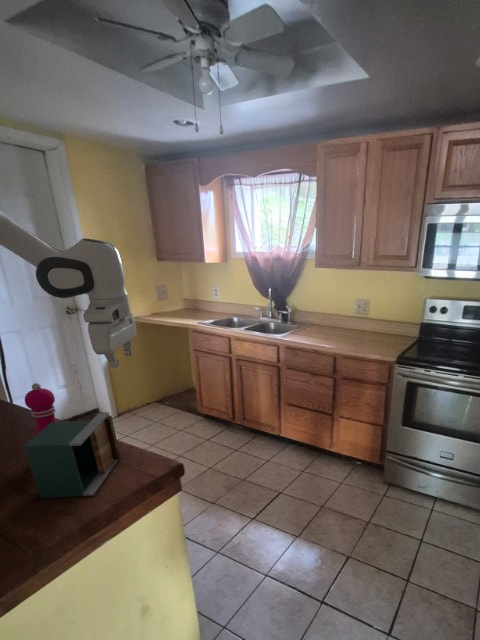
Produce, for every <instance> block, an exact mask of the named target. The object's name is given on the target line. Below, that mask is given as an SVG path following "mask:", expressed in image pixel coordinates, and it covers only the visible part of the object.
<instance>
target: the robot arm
mask: <svg viewBox="0 0 480 640" xmlns="http://www.w3.org/2000/svg"><path fill="white" fill-rule="evenodd" d="M0 246H2V247H3V248H5V249H7V250H8V251H10V252H11V253H13V254H15V255H17V256H18V257H20V258H21V259H22V260H24V261H26V262H27V263H28V264H31V265H32V266H34V267H35V268H36V269H35V278H36V281H37V283H38V285H39V286H40V288H41V289H42V290H43V291H44V292H45V293H47V294H48V295H50V296H52V297H54V298H58V299H72V298H75V297H78V296H83V295H87V297H88V300H89V304H88V306H87V308H86V310H85V311H83V314H82V316H83V321H84V323H87V332H88V337H89V340H90V344H91V347H92V350H93V352H94V353H95V354H96V355H97V356H98V355H104V357H105V359H106V360H107V362H108V365H109V368H111V369H116V368H118V367H119V366H120V363H119V359H117V356H116V351H117V350H118V349H119V348H121V347H122V349H123V350H122V356H123V357H124V358H129V357H131V356H132V355H133V354H132V344H133V343H132V339H134V338H135V337H137V335H138V334H137V332H138V331H137V325H136V321H135V318H134V314H133V312H132V310H131V305H130V300H129V299H130V298H129V294H128V292H127V290H126V286H125V280H126V278H125V272H124V267H123V263H122V259H121V256H120V253H119V250H118V249H117V248H116V246H115V245H114V244H113V243H111V242H108V241H105V240H101V239H100V240H99V239H95V238H94V239H92V238H81V239H79V240H78V242H76V243H75V244H73V245H72V246H70V247H69V248H67V249H64V250H61V249H57V248H55V247H53V246H51V245H49V244H48V243H47V242H45V241H44V240H42V239H41V238H39V237H38V236H37V235H35V234H34V233H32V232H31V231H29V230H28V229H27V228H25V227H23V226H22V225H20V224H19V223H18V222H16V221H14V220H13V219H12V218H10V217H9V216H8V215H7V214H6V213H5V212H4V211H2V210H1V209H0Z"/></svg>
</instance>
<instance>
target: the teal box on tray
mask: <svg viewBox="0 0 480 640" xmlns="http://www.w3.org/2000/svg"><path fill="white" fill-rule="evenodd" d="M109 416H110V412H108V411H106V412H98V414H96V416H94V417H93V418H92V420H65V421H63V420H62V421H57V422H51V423H50V424H49V425H48V426H47V427H45V428H44V429H43V430H42V431H41V432H39V433H38V434H37V435H36V434H35V435H36V436H35V435H34V436H33V437H32V438H31V439H29V440H28V441H27V442H26V443H25V444H24V445H23V446H22V447H23V449H24V452H25V454H26V455H25V457H26V459H27V461H28V465H29V468H30V470H31V474H32V478H33V479H34V482H35V485H36V489H37V491H38V494H39V498H40V499H44V498H45V499H46V498H47V499H48V498H70V497H72V498H73V497H74V498H75V497H94V495H95V494H96V493H97V491H98V490H99V488H100V487H101V486H102V483H104V481H105V480H106V478H107V477H108V475H110V472H111V471H112V470H113V468H114V467H115V465H116V464H117V463H118V462H119V459H118V460H113V462H112V463H111V464H110V466H109V467H108V469H107V470H106V471H105V473H99V472H98V468H97V464H96V460H95V456H94V452H93V448H92V444H91V440H90V435H91V434H92V433H93V431H94V430H95V429H96V428H97V427H98V426H99V425H100V424H101V423H102V422H103V421H104V420H105V418H106V417H109Z"/></svg>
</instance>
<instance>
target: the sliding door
mask: <svg viewBox="0 0 480 640" xmlns="http://www.w3.org/2000/svg"><path fill="white" fill-rule="evenodd" d="M117 439H118V438H117V435H116V429H115V426H114V421H113V416H107V417H106V418H105V420H104V421H103V422H102V423H101V424H100V425H99V426H98V427H97V428H96V429H95V430H94V431H93V433H92V434H91V435H90V440H91V444H92V448H93V452H94V456H95V460H96V464H97V468H98V472H99V473H105V471H106V470H107V469H108V467H109V466H110V464H111V463H112V462H113V460H118V461H119V460H120V458H121V453H120V449H119V445H118V440H117Z"/></svg>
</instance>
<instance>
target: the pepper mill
mask: <svg viewBox="0 0 480 640" xmlns="http://www.w3.org/2000/svg"><path fill="white" fill-rule="evenodd" d="M55 401H56V398H55V395H54V393H53V392H52V390H49V389H48V388H42V386H41V384H39V382H35V383H32V385H31V390H29V391H28V392H27V393H26V394H25V396H24V404H25V405H26V407H27V408H28V409H30V414H31V417H33V418H34V419H35V421H36V432H35V435H34V437H35V436H36V435H37V434H38V433H39V432H41V431H42V430H43V429H44V428H45V427H47V426H48V425H49V424H50V423H51V422H58V421H57V418H56V411H57V410H56V407H55V405H54V404H55Z"/></svg>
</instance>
